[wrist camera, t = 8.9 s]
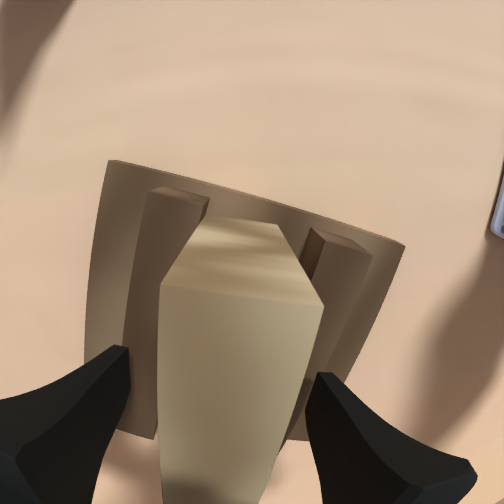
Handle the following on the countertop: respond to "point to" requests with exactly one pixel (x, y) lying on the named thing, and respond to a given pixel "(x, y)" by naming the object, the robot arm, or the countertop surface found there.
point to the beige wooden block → (230, 359)
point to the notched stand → (171, 244)
